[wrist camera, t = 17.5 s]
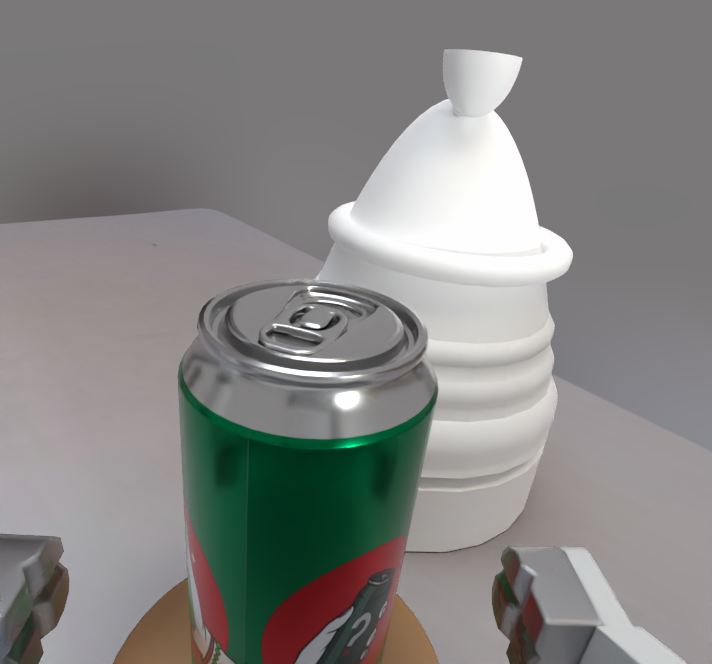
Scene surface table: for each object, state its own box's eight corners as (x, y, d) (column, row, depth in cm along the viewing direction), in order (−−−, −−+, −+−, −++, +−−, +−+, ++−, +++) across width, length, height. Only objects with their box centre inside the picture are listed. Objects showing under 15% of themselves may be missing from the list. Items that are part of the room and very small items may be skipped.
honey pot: (563, 572, 21) (766, 73, 13) (246, 530, 21) (259, 12, 13) (501, 398, 32) (588, 82, 24) (299, 372, 32) (322, 50, 25)
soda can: (391, 645, 16) (466, 302, 11) (335, 840, 12) (416, 424, 7) (251, 589, 18) (260, 257, 13) (154, 749, 13) (107, 337, 8)
